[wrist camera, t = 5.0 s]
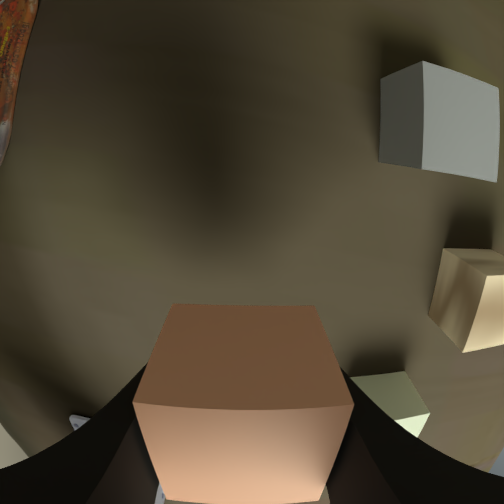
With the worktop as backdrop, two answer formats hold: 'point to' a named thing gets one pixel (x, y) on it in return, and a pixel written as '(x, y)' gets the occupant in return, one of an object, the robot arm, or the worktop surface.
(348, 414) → the terracotta block
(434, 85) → the slate block
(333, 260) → the worktop surface
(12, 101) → the tin
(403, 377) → the sage block
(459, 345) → the maple block
